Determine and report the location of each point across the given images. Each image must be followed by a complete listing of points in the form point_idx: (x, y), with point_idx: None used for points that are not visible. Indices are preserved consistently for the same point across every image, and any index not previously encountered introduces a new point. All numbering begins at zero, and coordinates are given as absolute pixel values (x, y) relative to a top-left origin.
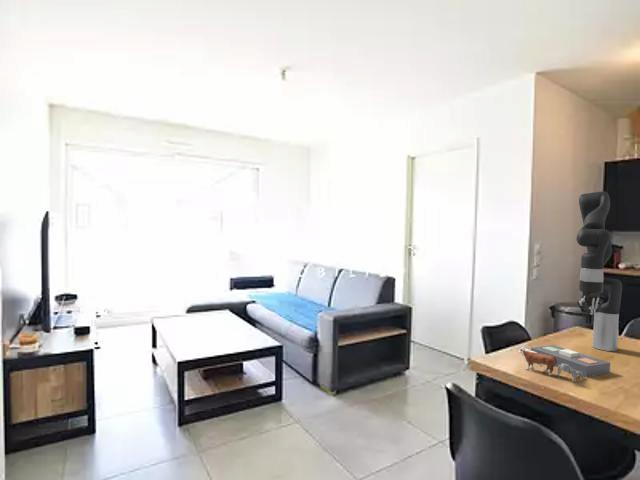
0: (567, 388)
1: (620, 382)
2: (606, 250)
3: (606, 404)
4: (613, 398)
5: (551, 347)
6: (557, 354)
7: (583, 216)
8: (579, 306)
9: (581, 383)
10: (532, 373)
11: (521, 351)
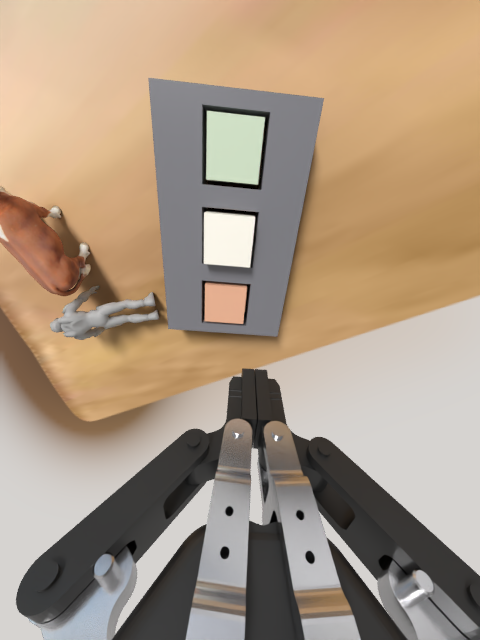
0: (61, 334)
1: (225, 358)
2: None
3: (82, 393)
4: (121, 387)
5: (257, 133)
6: (186, 217)
7: None
8: (113, 497)
9: (124, 330)
10: None
11: None
